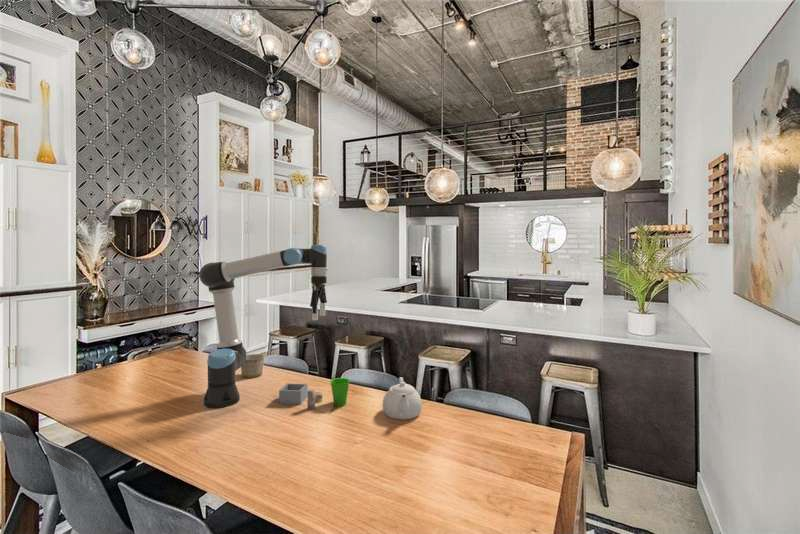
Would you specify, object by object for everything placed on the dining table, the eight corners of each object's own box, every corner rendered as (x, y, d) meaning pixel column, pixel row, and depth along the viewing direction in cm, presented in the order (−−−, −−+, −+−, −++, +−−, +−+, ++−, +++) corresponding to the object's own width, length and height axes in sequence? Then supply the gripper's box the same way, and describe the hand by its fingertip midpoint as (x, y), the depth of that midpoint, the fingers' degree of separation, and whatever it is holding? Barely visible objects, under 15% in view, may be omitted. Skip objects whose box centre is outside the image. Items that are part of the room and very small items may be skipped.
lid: (293, 416, 169) (293, 395, 169) (302, 405, 181) (302, 386, 181) (320, 417, 168) (320, 396, 168) (328, 406, 180) (328, 387, 180)
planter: (259, 379, 217) (259, 360, 217) (236, 378, 218) (236, 359, 217) (267, 372, 230) (267, 354, 230) (245, 371, 230) (245, 354, 230)
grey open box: (279, 405, 180) (279, 390, 179) (287, 397, 189) (287, 383, 189) (300, 406, 179) (300, 391, 179) (307, 398, 189) (307, 383, 188)
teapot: (432, 412, 174) (432, 381, 173) (403, 425, 160) (403, 392, 160) (400, 401, 186) (401, 372, 186) (372, 412, 173) (372, 381, 172)
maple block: (313, 404, 182) (313, 395, 182) (313, 401, 186) (313, 392, 186) (322, 403, 183) (322, 394, 183) (321, 400, 187) (321, 392, 187)
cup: (351, 401, 186) (351, 378, 185) (347, 408, 177) (347, 384, 176) (332, 400, 186) (333, 377, 186) (327, 408, 177) (327, 383, 177)
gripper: (319, 277, 186) (319, 322, 187) (332, 274, 211) (332, 314, 211) (303, 276, 186) (303, 321, 187) (318, 274, 211) (318, 313, 212)
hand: (318, 317), depth 199 cm, fingers open, 13 cm apart
